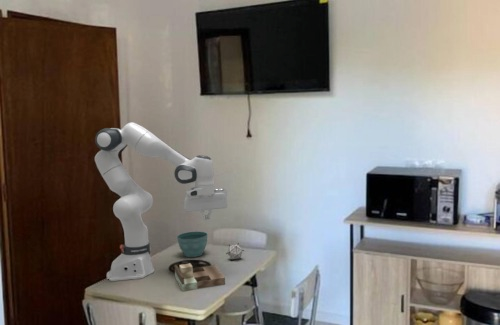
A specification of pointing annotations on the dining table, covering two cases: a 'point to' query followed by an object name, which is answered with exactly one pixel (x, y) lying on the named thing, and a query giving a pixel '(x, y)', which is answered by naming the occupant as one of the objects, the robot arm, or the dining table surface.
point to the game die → (234, 251)
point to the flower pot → (192, 243)
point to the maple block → (186, 270)
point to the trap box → (200, 278)
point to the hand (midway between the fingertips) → (206, 219)
